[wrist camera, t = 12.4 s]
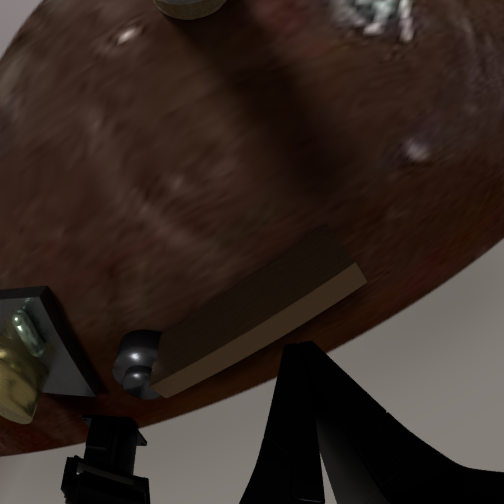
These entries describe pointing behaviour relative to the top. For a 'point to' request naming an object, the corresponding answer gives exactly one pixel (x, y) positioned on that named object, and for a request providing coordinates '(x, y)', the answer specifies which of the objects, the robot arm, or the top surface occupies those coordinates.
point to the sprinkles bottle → (188, 8)
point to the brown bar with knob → (240, 319)
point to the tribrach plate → (54, 339)
